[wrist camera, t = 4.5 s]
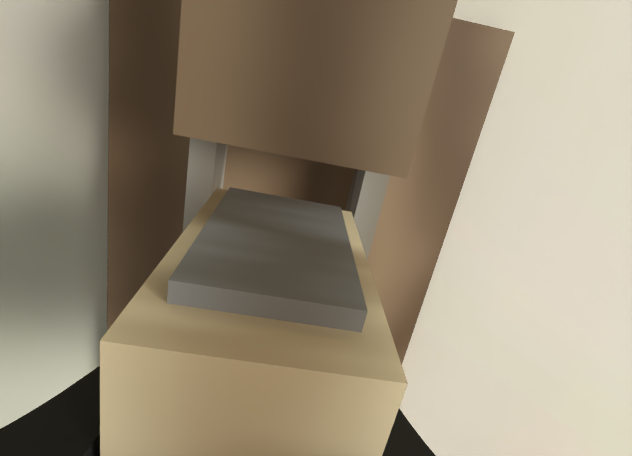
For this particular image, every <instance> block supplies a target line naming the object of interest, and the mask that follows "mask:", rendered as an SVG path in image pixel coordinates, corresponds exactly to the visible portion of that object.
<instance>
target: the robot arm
mask: <svg viewBox="0 0 632 456" xmlns="http://www.w3.org/2000/svg"><path fill="white" fill-rule="evenodd" d="M0 456H100V366H99V367H97V368H96V369H95V370H93V371H92V372H90V373H89V374H87V375H86V376H84V377H83V378H82V379H80V380H79V381H77V382H76V383H74V384H73V385H71V386H70V387H69V388H67V389H66V390H64V391H63V392H61V393H60V394H58V395H57V396H55V397H53V398H52V399H50V400H49V401H47V402H46V403H44V404H42V405H41V406H39V407H38V408H36V409H34V410H33V411H31V412H29V413H27V414H26V415H24V416H22V417H21V418H19V419H17V420H16V421H14V422H12V423H10V424H9V425H7V426H5V427H3V428H1V429H0ZM382 456H435V454H434V453H433V452H432V451H431V450H430V448H429V447H428V446H427V445H426V444H425V442H424V441H423V440H422V439H421V437H420V436H419V435H418V433H417V432H416V431H415V429H414V428H413V427H412V426H411V424H410V423H409V421H408V420H407V419H406V417H405V416H404V415H403V413H402V412H401V410H400V409H399V410H398V412H397V415H396V418H395V421H394V424H393V426H392V429H391V432H390V435H389V438H388V441H387V443H386V446H385V449H384V452H383V455H382Z"/></svg>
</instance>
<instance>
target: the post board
mask: <svg viewBox="0 0 632 456" xmlns="http://www.w3.org/2000/svg"><path fill="white" fill-rule="evenodd" d="M456 4H457V0H109V134H108V287H107V331H108V329H109V328H110V327H111V326H112V324H113V323H114V322H115V320H116V319H117V318H118V316H119V315H120V314H121V313H122V311H123V310H124V309H125V307H126V306H127V305H128V303H129V302H130V301H131V299H132V298H133V297H134V296H135V294H136V293H137V292H138V290H139V289H140V288H141V286H142V285H143V284H144V283H145V281H146V280H147V279H148V277H149V276H150V275H151V273H152V272H153V271H154V269H155V268H156V267H157V266H158V264H159V263H160V262H161V260H162V259H163V258H164V256H165V255H166V254H167V252H168V251H169V250H170V249H171V247H172V246H173V245H174V243H175V242H176V241H177V239H178V238H179V237H180V236H181V234H182V233H183V232H184V230H185V229H186V228H187V226H188V225H189V224H190V222H191V221H192V220H193V219H194V217H195V216H196V215H197V213H198V212H199V211H200V209H201V208H202V207H203V206H204V204H205V203H206V202H207V200H208V199H209V198H210V196H211V195H212V194H213V192H214V191H215V190H216V189H217V188H221V189H226V190H228V189H229V188H230V187H232V188H237V189H243V190H248V191H254V192H260V193H265V194H271V195H276V196H282V197H287V198H293V199H299V200H304V201H310V202H315V203H321V204H326V205H332V206H337V207H341V210H344V211H349V212H352V215H353V218H354V221H355V224H356V227H357V230H358V233H359V236H360V240H361V243H362V246H363V249H364V252H365V255H366V258H367V261H368V264H369V267H370V270H371V273H372V276H373V279H374V282H375V285H376V288H377V292H378V295H379V298H380V301H381V304H382V307H383V310H384V313H385V316H386V319H387V322H388V325H389V328H390V331H391V334H392V337H393V340H394V344H395V347H396V350H397V353H398V356H399V359H400V362H401V365H402V362H403V359H404V356H405V353H406V350H407V347H408V344H409V342H410V339H411V336H412V333H413V330H414V327H415V324H416V321H417V318H418V315H419V312H420V309H421V306H422V303H423V300H424V297H425V295H426V292H427V289H428V286H429V283H430V280H431V277H432V274H433V271H434V268H435V265H436V262H437V259H438V256H439V253H440V250H441V248H442V245H443V242H444V239H445V236H446V233H447V230H448V227H449V224H450V221H451V218H452V215H453V212H454V209H455V206H456V203H457V200H458V198H459V195H460V192H461V189H462V186H463V183H464V180H465V177H466V174H467V171H468V168H469V165H470V162H471V159H472V156H473V153H474V151H475V148H476V145H477V142H478V139H479V136H480V133H481V130H482V127H483V124H484V121H485V118H486V115H487V112H488V109H489V106H490V104H491V101H492V98H493V95H494V92H495V89H496V86H497V83H498V80H499V77H500V74H501V71H502V68H503V65H504V62H505V59H506V57H507V54H508V51H509V48H510V45H511V42H512V39H513V36H514V33H515V32H511V31H507V30H502V29H498V28H494V27H489V26H485V25H481V24H477V23H472V22H468V21H464V20H459V19H455V18H453V14H454V11H455V7H456Z"/></svg>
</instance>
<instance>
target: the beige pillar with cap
mask: <svg viewBox="0 0 632 456" xmlns="http://www.w3.org/2000/svg"><path fill="white" fill-rule="evenodd" d="M407 384H408V383H407V380H406V377H405V374H404V371H403V368H402V365H401V362H400V359H399V356H398V353H397V350H396V347H395V344H394V340H393V337H392V334H391V331H390V328H389V325H388V322H387V319H386V316H385V313H384V310H383V307H382V304H381V301H380V298H379V295H378V292H377V288H376V285H375V282H374V279H373V276H372V273H371V270H370V267H369V264H368V261H367V258H366V255H365V252H364V249H363V246H362V243H361V240H360V236H359V233H358V230H357V227H356V224H355V221H354V218H353V215H352V212H349V211H344V210H341V207H337V206H332V205H326V204H321V203H315V202H310V201H304V200H299V199H293V198H287V197H282V196H276V195H271V194H265V193H260V192H254V191H248V190H243V189H237V188H232V187H230V188H229V189H228V190H226V189H221V188H217V189H216V190H215V191H214V192H213V194H212V195H211V196H210V198H209V199H208V200H207V202H206V203H205V204H204V206H203V207H202V208H201V209H200V211H199V212H198V213H197V215H196V216H195V217H194V219H193V220H192V221H191V222H190V224H189V225H188V226H187V228H186V229H185V230H184V232H183V233H182V234H181V236H180V237H179V238H178V239H177V241H176V242H175V243H174V245H173V246H172V247H171V249H170V250H169V251H168V252H167V254H166V255H165V256H164V258H163V259H162V260H161V262H160V263H159V264H158V266H157V267H156V268H155V269H154V271H153V272H152V273H151V275H150V276H149V277H148V279H147V280H146V281H145V283H144V284H143V285H142V286H141V288H140V289H139V290H138V292H137V293H136V294H135V296H134V297H133V298H132V299H131V301H130V302H129V303H128V305H127V306H126V307H125V309H124V310H123V311H122V313H121V314H120V315H119V316H118V318H117V319H116V320H115V322H114V323H113V324H112V326H111V327H110V328H109V329H108V331H107V332H106V333H105V335H104V336H103V337H102V339H101V340H100V456H382V455H383V452H384V449H385V446H386V443H387V441H388V438H389V435H390V432H391V429H392V426H393V424H394V421H395V418H396V415H397V412H398V410H399V407H400V404H401V401H402V398H403V396H404V393H405V390H406V387H407Z"/></svg>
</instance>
